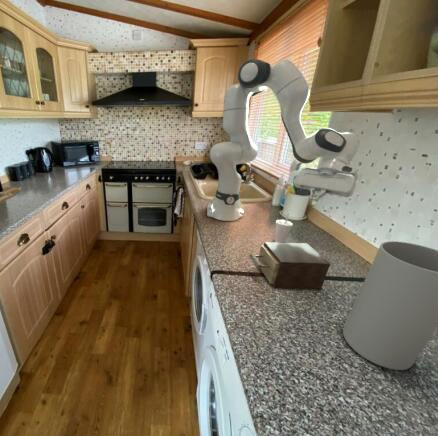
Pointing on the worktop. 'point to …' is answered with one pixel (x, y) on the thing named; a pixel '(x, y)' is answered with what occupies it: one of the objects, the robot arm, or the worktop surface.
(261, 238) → the worktop surface
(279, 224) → the smoothie
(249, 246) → the worktop surface
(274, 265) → the drawer
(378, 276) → the cylinder vase
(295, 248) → the cabinet
